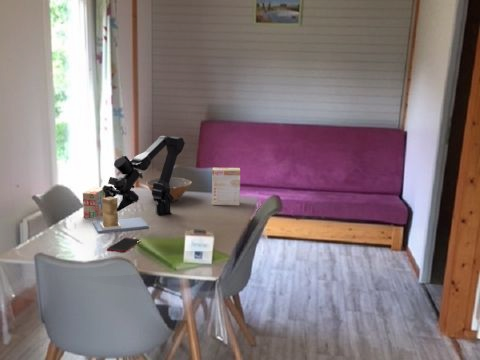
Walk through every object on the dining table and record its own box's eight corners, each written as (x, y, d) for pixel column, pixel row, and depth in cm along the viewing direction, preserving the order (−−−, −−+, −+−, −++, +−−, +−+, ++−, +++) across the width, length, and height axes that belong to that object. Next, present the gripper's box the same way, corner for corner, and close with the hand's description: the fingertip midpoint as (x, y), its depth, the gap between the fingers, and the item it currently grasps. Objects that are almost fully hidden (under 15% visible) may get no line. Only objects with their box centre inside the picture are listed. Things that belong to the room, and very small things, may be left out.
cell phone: (106, 251, 189) (106, 248, 188) (124, 239, 202) (124, 237, 202) (123, 253, 187) (123, 251, 186) (141, 241, 200) (141, 239, 200)
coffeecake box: (239, 202, 266) (240, 167, 262) (239, 205, 259) (240, 170, 255) (212, 201, 266) (212, 166, 262) (211, 205, 259) (212, 169, 255)
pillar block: (111, 224, 217) (110, 196, 214) (118, 226, 214) (117, 198, 212) (103, 226, 213) (102, 198, 211) (110, 228, 211) (109, 200, 208)
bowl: (174, 191, 285) (174, 175, 283) (200, 200, 268) (200, 182, 266) (137, 197, 269) (137, 180, 267) (162, 207, 251) (162, 189, 249)
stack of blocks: (101, 206, 251) (101, 182, 248) (113, 206, 250) (112, 183, 247) (83, 217, 230) (82, 192, 227) (95, 218, 229) (95, 193, 227)
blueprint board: (140, 219, 230) (140, 214, 229) (148, 227, 217) (148, 223, 217) (93, 224, 220) (92, 219, 220) (98, 233, 208) (98, 228, 208)
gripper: (104, 167, 218) (85, 195, 212) (133, 173, 208) (113, 202, 201) (118, 181, 226) (100, 208, 220) (147, 187, 216) (128, 216, 209)
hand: (110, 209), depth 212 cm, fingers open, 9 cm apart
